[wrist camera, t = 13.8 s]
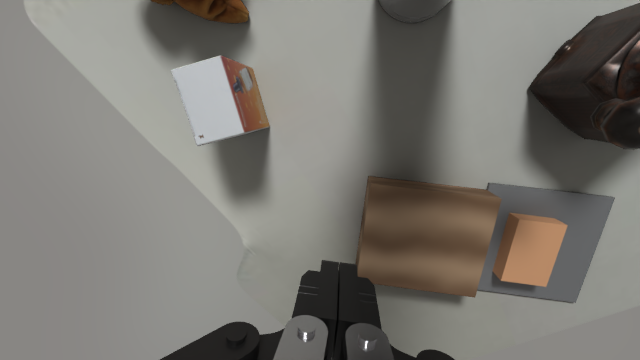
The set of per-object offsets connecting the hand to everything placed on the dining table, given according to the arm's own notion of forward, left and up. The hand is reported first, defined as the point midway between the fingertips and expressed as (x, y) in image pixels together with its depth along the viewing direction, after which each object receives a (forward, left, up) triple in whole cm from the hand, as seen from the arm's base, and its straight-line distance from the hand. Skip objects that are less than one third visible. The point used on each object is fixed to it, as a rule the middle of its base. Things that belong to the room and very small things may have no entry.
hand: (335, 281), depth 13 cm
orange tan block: (+9, +26, -26) cm, 38 cm away
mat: (+9, +28, -29) cm, 41 cm away
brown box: (+9, +12, -29) cm, 33 cm away
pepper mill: (-11, +27, -29) cm, 41 cm away
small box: (-6, -14, -29) cm, 33 cm away
